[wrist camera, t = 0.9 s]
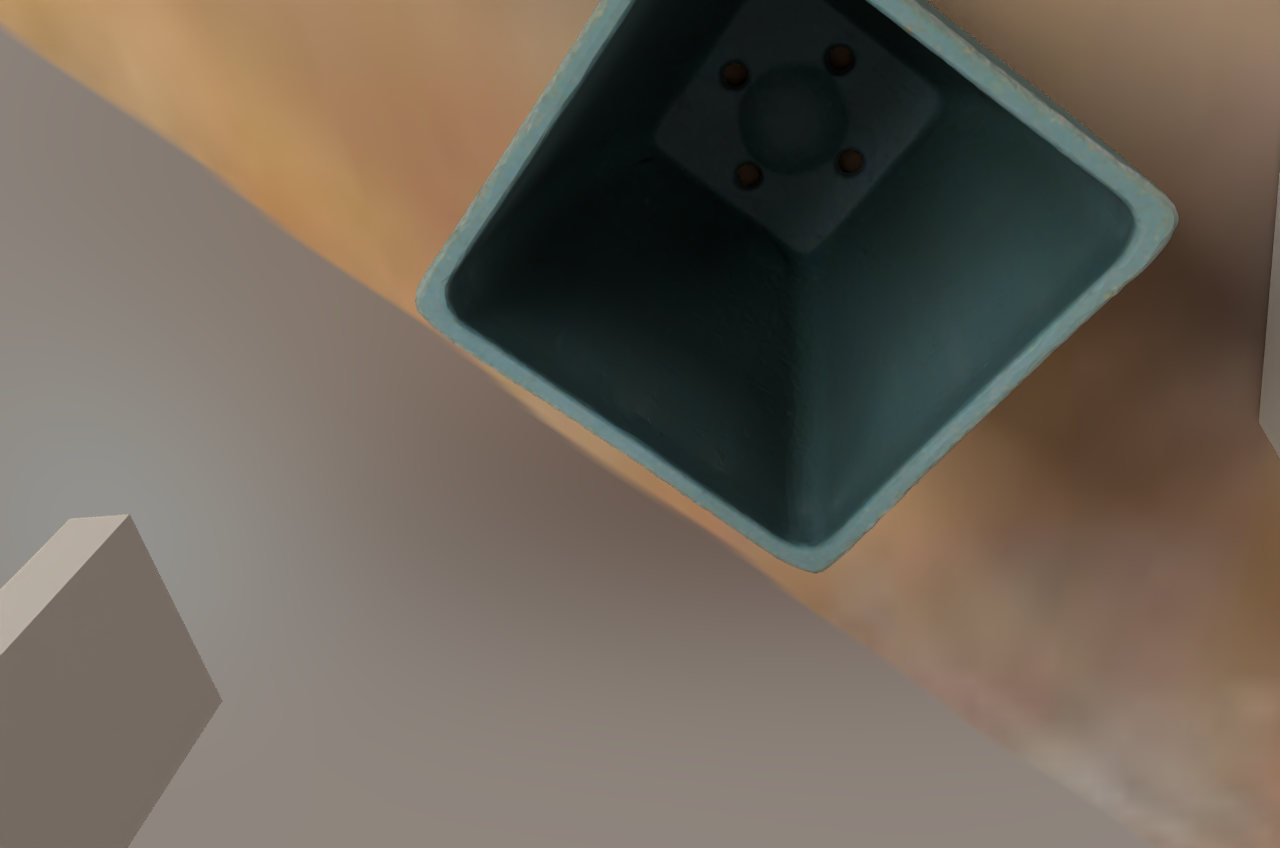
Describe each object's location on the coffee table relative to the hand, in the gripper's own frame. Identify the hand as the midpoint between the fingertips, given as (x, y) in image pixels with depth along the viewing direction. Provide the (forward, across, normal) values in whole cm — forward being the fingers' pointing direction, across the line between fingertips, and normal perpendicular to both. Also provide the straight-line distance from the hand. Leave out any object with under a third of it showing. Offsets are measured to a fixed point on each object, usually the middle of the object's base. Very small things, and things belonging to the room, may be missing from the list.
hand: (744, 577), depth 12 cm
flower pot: (+17, 0, 0) cm, 17 cm away
